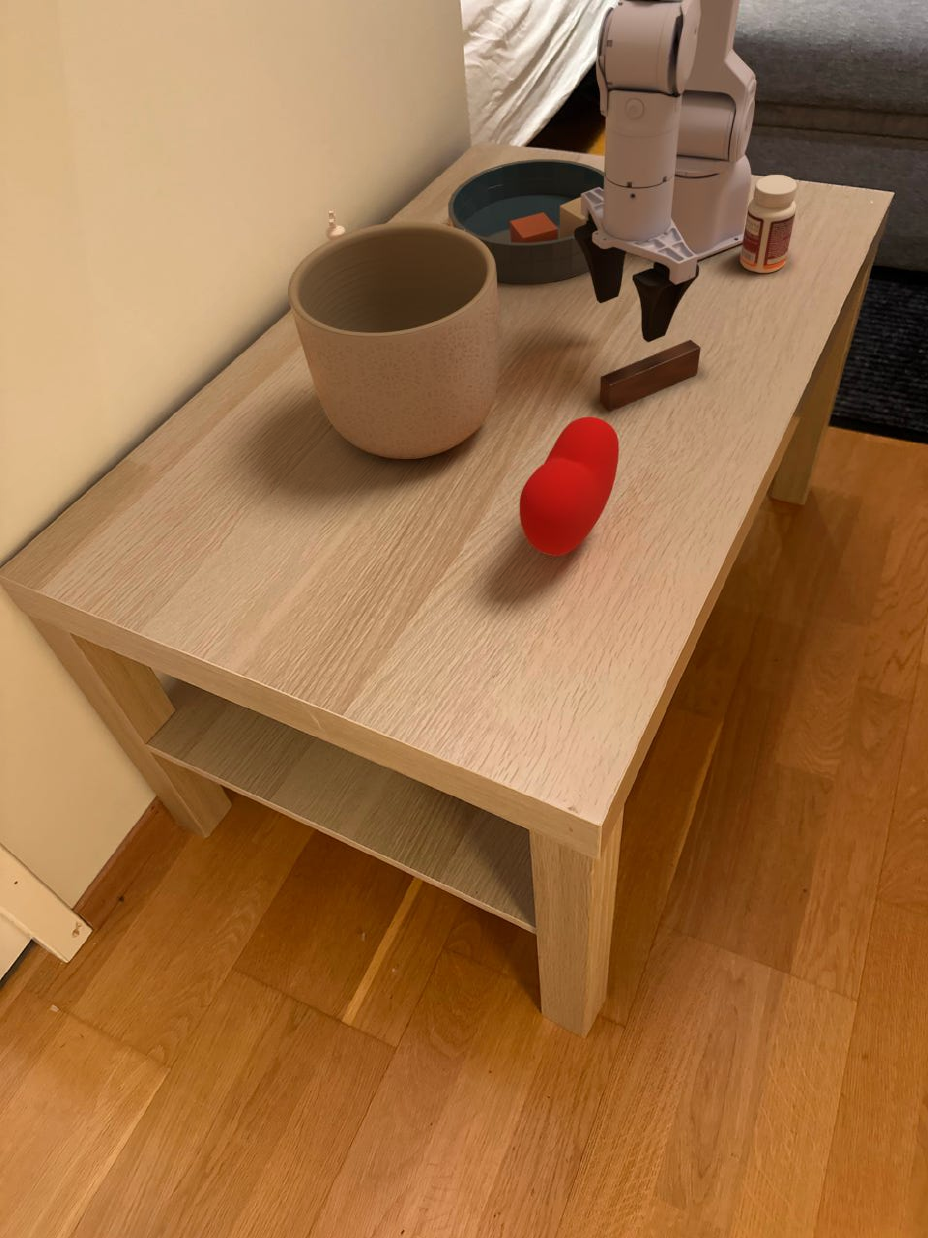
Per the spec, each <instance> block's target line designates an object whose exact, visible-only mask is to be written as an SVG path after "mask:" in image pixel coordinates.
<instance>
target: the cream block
mask: <svg viewBox="0 0 928 1238" xmlns="http://www.w3.org/2000/svg"><path fill="white" fill-rule="evenodd" d="M586 221H588V218H586V217H584V216H583V215H582V214H581V197H580V198H577V199H575V200H573V201H570V202H568V203H566V204H563V205H561V206H560V238H565V237H569V236H572V235H574V230H575V229H576V228H577V227H580V226H582V225H585V224H586Z"/></svg>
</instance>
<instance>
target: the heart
mask: <svg viewBox="0 0 928 1238" xmlns="http://www.w3.org/2000/svg"><path fill="white" fill-rule="evenodd" d="M619 454H620V443H619V437H618V434H617V432H616V430H615V428H614V427H613V426H612V424H610V423H609V422H607V421H606V420H604V419H603V418H599V417H597V416H582V417H579V418H576V419H575V420H573V421H571V422H570V423H569V424H567V425H566V426H565V427H564V428H563V430H562V431H561V433H560V434H559V435H558V437H557V438H556V440H555V442H554V444H553V446H552V447H551V449H550V452H549V453H548V455H547V456H546V459H545V460H544V462H543V464H541V465H540V466H539V467H537V469H536V470H534V471H533V473H531V475H530V476H529V477H528V479H527V480H526V481H525V483H524V485H523V486H522V489H521V491H520V497H519V519H520V524H521V528H522V531H523V534H524V536H525V538H526V540H527V541H528V543H529V544H530V545H531V546H532V547H533V548H534V549H535V550H537V551H539V552H541V554H542V553H543V554H545V555H549V556H555V557H556V556H557V557H559V556H563V555H566V554H569V553H570V552H572V551H573V550H575V549H576V548H577V547H578V546H579V545H580V544H582V542H583V541H584V540H585V539H586V537H587V536H588V535H589V534H590V532H591V531H592V530H593V528H594V527H595V526H596V524H597V522H598V521H599V519H600V518H601V515H602V514H603V512H604V511H605V508H606V507H607V503H608V501H609V499H610V497H611V494H612V490H613V488H614V484H615V480H616V475H617V470H618V464H619V456H620V455H619Z"/></svg>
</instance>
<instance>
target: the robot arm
mask: <svg viewBox="0 0 928 1238" xmlns="http://www.w3.org/2000/svg"><path fill="white" fill-rule="evenodd" d="M740 1H741V0H618V1H617V5H615V7H612V6H610V7H608V8H607V9H606V11H605V12H604V15H603V18H602V20H601V24H600V28H599V33H598V39H597V45H596V59H595V61H596V62H595V71H596V81H597V84H598V88H599V93H600V94H599V99H600V105H599V110H600V114H601V115H602V116H603V117H605V133H604V134H605V135H604V138H605V139H604V166H603V167H604V170H603V172H604V190H603V189H601V188H600V187H598V188H595V189H593V190H590V191H587V192H584V193H582V194H581V214H582V215H583V216H584V217H586V218H588V221H586V224H585V225H582V226H580V227H577V228H576V229H575V230H574V237H575V239H576V241H577V242H578V244H579V246H580V247H581V249H582V251H583V254H584V256H585V258H586V261H587V264H588V267H589V274H590V278H591V282H592V286H593V291H594V294H595V295H594V296H595V298H596V301H597V302H598V303H600V304H603V303H606V302H608V301H610V300H614V299H617V298H618V297H619V295H620V292H621V288H622V282H623V275H624V265H625V259H626V255H627V252H628V253H629V254H633V255H636V256H639V257H642V258H645V259H648V260H650V261H653V264H652V265H653V266H652V267H650V268H648V269H644V270H642V271H639V272H637V273H635V274H633V275H632V277H631V278H632V279H631V280H632V282H633V284H634V286H635V289H636V292H637V294H638V299H639V304H640V317H641V318H640V319H641V321H640V322H641V323H640V325H641V336H642V339H643V340H644V341H645V342H646V343H651V342H653V341H656V340H658V339H660V338H663V337H665V336H666V335H667V332H668V330H669V326H670V324H671V321H672V319H673V316H674V314H675V312H676V310H677V308H678V306H679V304H680V302H681V300H682V298H683V296H684V295H685V293H687V291H688V290H689V288H690V287H691V286H692V284H693V283H694V282H695V281H696V279H697V278H698V277H699V274H700V265H699V264H698V261H699V260H702V259H705V258H707V257H709V256H712V255H715V254H718V253H720V252H722V251H724V250H728V249H731V248H732V247H736V246H737V245H740V244H742V243H743V236H744V231H745V224H746V218H747V211H748V206H749V202H750V201H749V200H750V195H751V189H752V181H753V180H752V179H753V177H752V176H753V175H752V169H751V165H750V161H749V159H748V157H747V155H746V154H745V153H746V151H747V147H748V144H749V140H750V138H751V137H750V136H751V133H752V127H753V121H754V114H755V103H756V102H755V97H756V90H757V82H758V81H757V80H756V74H755V73H754V71H753V70H752V69H751V67H749V66H748V65H747V63H746V62H745V61H743V59H742V58H740V56H739V55H738V54H737V53H736V52H735V51H734V47H733V46H734V40H735V33H736V27H737V21H738V14H739V8H740Z"/></svg>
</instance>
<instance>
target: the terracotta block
mask: <svg viewBox="0 0 928 1238" xmlns="http://www.w3.org/2000/svg"><path fill="white" fill-rule="evenodd" d="M510 235H511V242H520V243H532V242H542V241H551V240H556V239H558V228H557V227H556V226H555V225H554V224H553V223H552V221H551V220H550V219H549V218H548V217H547V216H546V214H545V213H544V212H543V213H539V214H535V215H531V216H528V217H524V218H520V219H516V220H512V221H510Z"/></svg>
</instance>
